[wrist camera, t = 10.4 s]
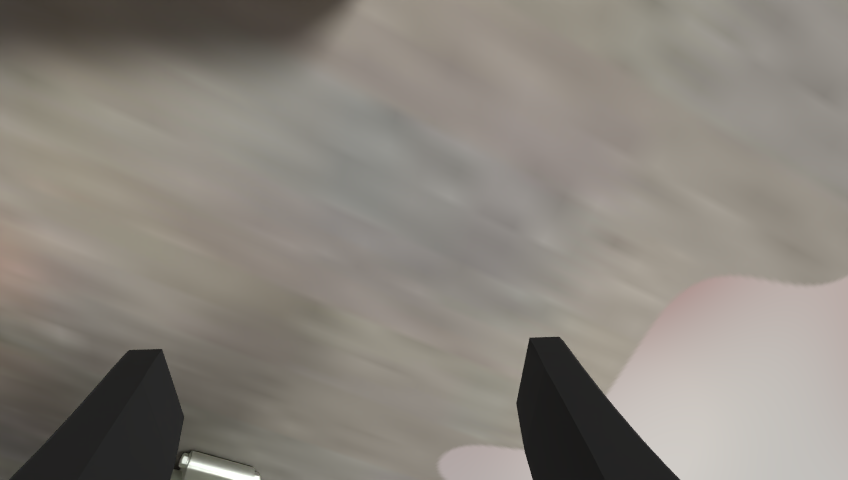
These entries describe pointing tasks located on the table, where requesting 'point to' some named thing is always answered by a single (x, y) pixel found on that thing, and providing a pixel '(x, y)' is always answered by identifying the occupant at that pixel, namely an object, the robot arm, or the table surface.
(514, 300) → the table surface
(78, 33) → the table surface
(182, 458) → the pneumatic valve
